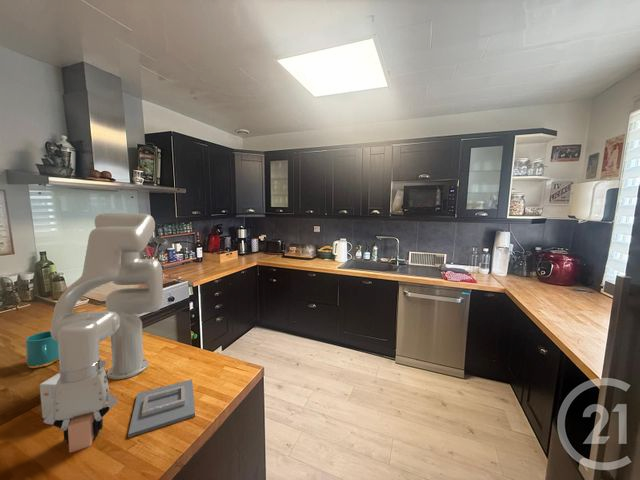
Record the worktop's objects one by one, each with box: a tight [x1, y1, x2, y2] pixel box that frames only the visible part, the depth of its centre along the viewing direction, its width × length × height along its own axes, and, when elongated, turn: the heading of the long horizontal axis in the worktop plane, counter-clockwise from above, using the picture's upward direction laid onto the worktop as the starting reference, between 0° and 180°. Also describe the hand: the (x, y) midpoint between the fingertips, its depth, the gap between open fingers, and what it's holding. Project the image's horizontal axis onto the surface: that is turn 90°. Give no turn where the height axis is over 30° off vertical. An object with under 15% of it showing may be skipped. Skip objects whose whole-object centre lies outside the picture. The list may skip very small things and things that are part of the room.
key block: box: [68, 412, 95, 453], centre depth 67 cm, size 7×4×7 cm, turn 29°
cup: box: [25, 330, 59, 367], centre depth 99 cm, size 9×12×11 cm
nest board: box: [127, 378, 196, 439], centre depth 79 cm, size 18×16×2 cm
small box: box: [39, 372, 60, 419], centre depth 76 cm, size 8×6×10 cm
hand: (84, 435), depth 67 cm, fingers open, 4 cm apart
